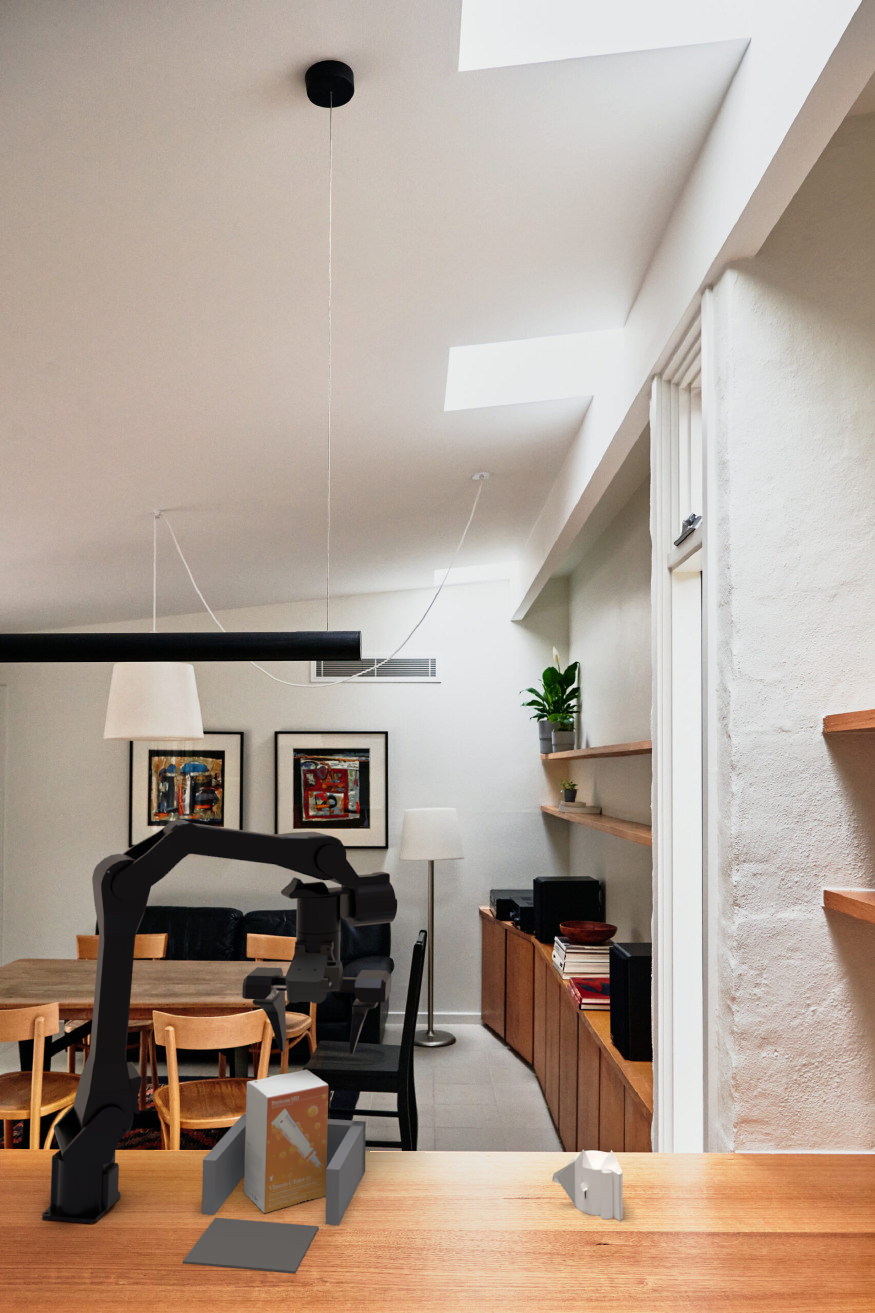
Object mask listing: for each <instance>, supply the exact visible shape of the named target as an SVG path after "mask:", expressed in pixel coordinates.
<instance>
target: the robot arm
mask: <svg viewBox="0 0 875 1313" xmlns="http://www.w3.org/2000/svg"><path fill="white" fill-rule="evenodd" d="M189 855H196V856H202V857H213V858H219V859H220V858H221V859H228V860H234V861H245V862H250V863H251V862H252V863H260V864H267V865H275V866H277V867H281V868H284V869H286V870H289V871H293V872H296V873H299V874H301V875H305V876H307V877H311V878H314V879H317V880H320V881H314V882H313V881H312V882H303V881H302V879H300V878H298V877H292V879H291V881H290V882H289V883H288V884H287V885H286V886H285V887H284V888H283V889H281V891H280V894H281V895H282V896H284V897H286V898H289V899H290V900H294V899H295V900H296V933H295V934H296V935H295V936H296V939H295V941H294V953H293V956H292V959H291V962H290V965H289V967H288V969H287V971H286V974H285V975H284V972H283V969H282V967H263V966H262V967H260V966H259V967H258V966H256V968H254V969H253V970H252V971H251V972H250V973H249V974H248V975H247V976H246V977H245V978H243V982H242V988H241V989H242V997H241V998H242V999H244V1000H252V1002H251V1003H252V1006H253V1005H254V1006H258V1007H260V1008H261V1009H262V1010H263V1011H264V1012H265V1015H266V1017H267V1018H268V1021H269V1022H270V1026H271V1028H272V1031H273V1034H274V1037H275V1041H276V1043H277V1046H278V1050H279V1052H280V1053H283V1052H285V1050H286V1040H287V1026H286V1025H287V1024H286V1022H287V1021H286V1018H287V1017H286V999H287V1002H288V1003H293V1004H295V1003H296V1004H297V1003H298V1002H303V1003H304V1002H306V1003H307V1002H309V1003H311V1004H321V1003H322V1002H324V1001H325V1000H326V997H327V993H348V994H349V993H351V994H352V993H354V997H355V998H356V999H355V1000H354V1002H353V1004H352V1006H351V1007H352V1018H351V1028H350V1036H349V1054H350V1055H353V1054H354V1053H355V1051H356V1050H355V1049H356V1047H357V1044H358V1041H359V1037H360V1034H361V1031H362V1028H363V1026H364V1024H365V1022H364V1021H365V1019H366V1017H367V1014H368V1012H369V1010H371V1009H372V1010H373V1009H376V1007H378V1004H379V1003H380V1004H381V1003H385V1002H387V999H388V998H389V996H390V994H391V992H392V976H391V974H390V972H388V970H386V969H385V970H382V969H381V970H380V969H361V970H360V972H359V973H358V974H357V976H356V977H354V976H353V977H351V976H348V977H347V976H344V968H343V963H342V961H341V954H340V953H341V919H342V920H345V921H346V922H347V924H348V925H349V926H350V927H361V926H369V925H370V926H372V925H380V924H388V923H392V922H394V921H395V918H396V916H397V914H398V913H397V912H398V899H397V897H396V893H395V889H394V886H393V885H392V883H391V875H390V873H387V872H385V871H376V872H375V871H374V872H372V873H367V874H358V873H357V871H356V870H355V869H354V867H353V866H352V865H351V863H350V862H349V861H348V859H347V850H346V847H345V845H344V844H343V842H342V840H341V839H339V838H338V837H335V836H332V835H329V834H325V833H321V832H317V831H299V832H286V833H276V834H274V833H265V832H264V833H263V832H258V831H257V832H256V831H249V830H242V829H237V828H236V829H234V828H228V827H221V826H214V825H207V824H200V823H193V822H190V821H186V820H184V819H174V820H172V821H170V822H168V823H167V824H165V826H164V827H163V828H161V829H160V830H158V831H157V832H155V833H153V834H152V835H150V836H148V837H146V838H144V839H143V840H141V841H139V842H137V843H136V844H134V845H133V846H131V847H130V848H129V849H127V850H125V852H123V853H116V854H110V855H109V856H106V857H104V858H103V859H102V860H100V862H99V863H98V864H96V866H95V867H94V869H93V873H92V878H91V882H92V891H93V892H92V894H93V900H94V901H93V902H94V908H95V914H96V915H95V916H96V920H97V928H98V932H99V933H98V934H99V935H98V949H97V959H96V969H95V970H96V973H95V974H96V975H95V984H94V995H93V996H94V998H93V1009H92V1022H91V1034H90V1048H89V1053H88V1057H87V1059H86V1062H85V1064H84V1066H83V1069H82V1072H81V1073H80V1076H79V1081H78V1085H77V1088H76V1091H75V1092H76V1093H75V1096H74V1100H73V1105H72V1106H71V1107H70V1108H69V1109H68V1110H67V1111H66V1112H65V1113H64V1114H63V1116H62V1117H61V1118H60V1119H59V1120H58V1121H57V1122H56V1123H55V1124H54V1126H53V1131H54V1134H55V1138H56V1140H57V1143H58V1147H59V1150H57V1151H56V1152H55V1153H54V1154H53V1155H52V1156H51V1168H50V1169H51V1170H50V1171H51V1174H50V1196H49V1197H50V1199H49V1207H48V1208H47V1209H46V1210H44V1211H43V1212H42V1214H41V1219H42V1220H49V1221H61V1222H70V1223H84V1224H94V1223H97V1222H98V1221H99V1220H100V1219H101V1218H102V1217H103V1215H104V1214H106V1213H107V1212H108V1211H109V1209H111V1208H112V1206H113V1205H115V1204H116V1203H117V1202H118V1200H120V1199H121V1195H122V1193H121V1192H120V1191H119V1176H120V1175H119V1171H120V1165H119V1163H118V1162H116V1150H117V1147H118V1145H119V1142H120V1140H121V1139H123V1137H124V1136H125V1135H126V1134H127V1133H129V1132H130V1131H131V1128H132V1126H133V1122H134V1118H135V1114H136V1115H140V1114H141V1110H140V1107H139V1094H140V1091H141V1086H142V1079H143V1078H142V1076H141V1074H140V1072H139V1070H138V1069H137V1068H136V1066H135V1065H134V1063H133V1061H131V1062H128V1060H127V1048H128V1036H129V1034H128V1033H129V1024H130V1023H129V1022H130V1011H131V1010H130V1009H131V997H132V996H131V995H132V984H133V973H134V972H133V971H134V969H133V968H134V956H135V945H136V944H135V942H136V936H137V933H138V930H139V928H140V925H141V923H142V920H143V917H144V915H145V912H146V908H147V905H148V900H149V897H150V893H151V889H152V886H154V885H155V884H157V883H158V882H159V881H160V880H162V879H164V878H165V877H166V876H167V875H168V874H169V873H170V872H171V871H172V870H173V869H174V868H175V867H176V866H177V865H178V864H179V863H180V862H181V861H182V860H183V859H184V858H186V857H187V856H189ZM324 881H330V882H333V883H335V884H338V885H340V886H335V887H328V886H327V884H326V883H325V882H324Z"/></svg>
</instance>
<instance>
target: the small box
mask: <svg viewBox="0 0 875 1313" xmlns="http://www.w3.org/2000/svg"><path fill="white" fill-rule="evenodd" d="M245 1100H246V1102H245V1103H246V1107H245V1108H246V1109H245V1114H246V1134H245V1175H244V1177H243V1179H244V1180H243V1181H244V1184H243V1192H244V1194H245V1195H246V1196H247V1197H248V1198H249V1199H250V1200H251V1201H252V1202H253V1204H255V1206H257V1208H258V1209H259V1210H260V1211H261V1212H262V1213H263V1214H267V1213H270V1212H273V1211H276V1210H280V1209H283V1208H286V1207H287V1208H288V1207H290V1206H294V1205H298V1204H301V1203H300V1202H302V1201H305V1202H307V1201H306V1200H309V1201H312V1200H311V1199H313V1200H315V1199H316V1198H317V1199H321V1198H320V1197H322V1198H324V1196H325V1197H326V1167H327V1124H328V1119H329V1118H328V1116H329V1115H328V1114H329V1112H328V1111H329V1084H328V1083H327V1082H325V1081H324V1080H322V1079H321V1078H320V1077H319V1076H317V1075H315V1074H314V1073H312V1072H311V1071H310V1070H309V1069H303V1070H299V1071H294V1072H289V1073H281V1074H276V1075H272V1076H268V1077H264V1078H259V1079H254V1080H249V1081H247V1082H246V1099H245ZM297 1203H298V1204H297ZM302 1203H303V1202H302Z"/></svg>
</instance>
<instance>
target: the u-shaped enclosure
mask: <svg viewBox="0 0 875 1313" xmlns="http://www.w3.org/2000/svg"><path fill="white" fill-rule="evenodd" d="M366 1123H367V1122H366V1121H365V1120H364V1121H362V1120H349V1119H347V1120H346V1119H332V1118H328V1124H327V1167H326V1196H325V1225H326V1224H330V1225H329V1226H338V1227H339V1226H340V1223H341V1222H342V1220H343V1217H344V1215H345V1213H346V1212H347V1210H346V1209H348V1207H349V1205H350V1203H351V1201H352V1199H353V1197H354V1195H355V1193H356V1190H357V1189H358V1187H359V1185H360V1183H361V1181H362V1179H363V1176H364V1174H365V1172H366V1130H367V1129H366ZM245 1134H246V1113H242V1115H240V1117H239V1118H238V1120H236V1122H235V1123H234V1124H233V1125H232V1126H231V1127H230V1128H229V1129H228V1131H227V1132H226V1133H225V1134H224V1135H223V1136H222V1137H221V1139H220V1140H218V1142H217V1143H216V1145H214V1146H213V1147H212V1149H211V1150H210V1151H209V1152H208V1153H207V1154H206V1156H205V1157H204V1158H203V1159H202V1184H201V1185H202V1187H201V1188H202V1189H201V1191H202V1192H201V1215H207V1216H215V1215H216V1214H217V1212H218V1211H219V1210H220V1208H221V1207H222V1206H223V1205H224V1203H225V1201H226V1200H227V1199H228V1198H229V1196H230V1195H231V1194H232V1193H233V1191H234V1190H235V1188H236V1187H237V1186H238V1184H240V1182H241V1180H243V1179H244V1176H245ZM345 1211H346V1212H345Z"/></svg>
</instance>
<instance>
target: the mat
mask: <svg viewBox="0 0 875 1313" xmlns="http://www.w3.org/2000/svg"><path fill="white" fill-rule="evenodd" d="M319 1227H320V1226H319V1225H313V1224H312V1225H311V1224H297V1223H287V1222H285V1223H284V1222H273V1221H261V1220H250V1219H238V1218H237V1219H235V1218H227V1217H226V1218H224V1217H215V1218H214V1219H213V1220H212V1221H211V1222H210V1224H209V1225H208V1226H207V1228H206V1229H205V1231H204V1232H203V1233H202V1234H201V1236H200V1237H199V1238H198V1240H197V1241H196V1242H195V1244H194V1245H193V1247H192V1248H191V1249H190V1250H189V1252H188V1253H187V1255H186V1256H185V1257H184V1259H183V1260H182V1264H183V1265H185V1264H187V1265H196V1266H206V1267H218V1268H228V1269H229V1268H230V1269H238V1270H240V1269H241V1270H252V1271H262V1272H273V1273H282V1274H284V1273H285V1274H292V1275H293V1274H294V1275H295V1274H296V1273H297V1271H298V1270H299V1268H300V1266H301V1264H300V1263H302V1262H303V1260H302V1259H304V1258H305V1256H306V1254H307V1252H308V1250H309V1248H310V1246H311V1245H310V1244H312V1243H313V1241H312V1240H314V1239H315V1237H316V1234H317V1233H318V1231H319V1229H320V1228H319ZM316 1232H317V1233H316ZM311 1242H312V1243H311ZM306 1251H307V1252H306ZM301 1261H302V1262H301Z"/></svg>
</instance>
